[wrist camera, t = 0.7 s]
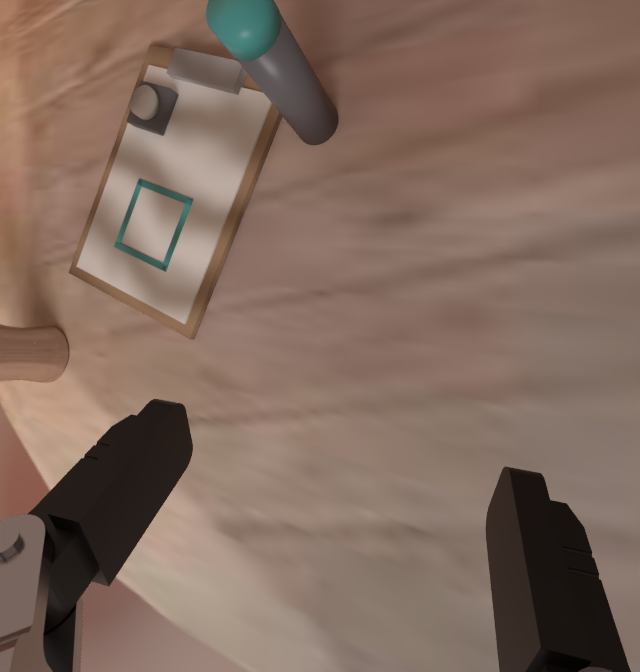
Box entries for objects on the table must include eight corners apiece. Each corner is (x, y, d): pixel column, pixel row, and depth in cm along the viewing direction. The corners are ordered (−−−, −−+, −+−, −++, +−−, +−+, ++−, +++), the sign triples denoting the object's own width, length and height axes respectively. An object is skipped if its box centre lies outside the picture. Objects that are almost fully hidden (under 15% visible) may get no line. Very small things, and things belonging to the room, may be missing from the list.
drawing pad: (154, 48, 41) (134, 29, 39) (296, 80, 35) (282, 59, 33) (74, 273, 44) (50, 268, 41) (193, 339, 38) (174, 337, 35)
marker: (307, 97, 35) (220, -34, 23) (346, 106, 33) (274, -28, 22) (290, 139, 35) (197, 31, 24) (327, 150, 34) (248, 41, 22)
